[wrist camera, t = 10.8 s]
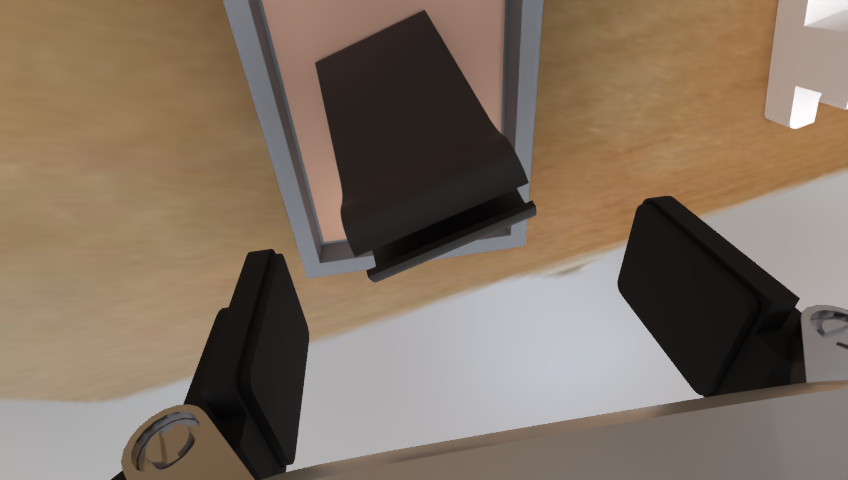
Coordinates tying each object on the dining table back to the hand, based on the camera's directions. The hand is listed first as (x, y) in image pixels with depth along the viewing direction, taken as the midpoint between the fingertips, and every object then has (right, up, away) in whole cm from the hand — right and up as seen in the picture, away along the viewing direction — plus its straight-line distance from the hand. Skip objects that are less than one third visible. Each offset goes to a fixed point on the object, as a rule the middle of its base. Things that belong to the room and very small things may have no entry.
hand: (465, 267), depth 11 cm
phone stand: (-2, +8, +12) cm, 15 cm away
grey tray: (-3, +8, +13) cm, 15 cm away
